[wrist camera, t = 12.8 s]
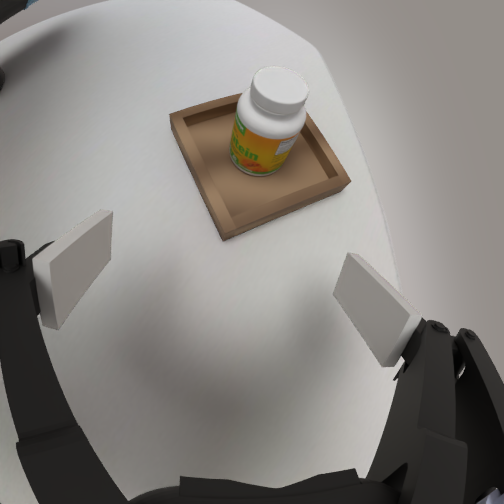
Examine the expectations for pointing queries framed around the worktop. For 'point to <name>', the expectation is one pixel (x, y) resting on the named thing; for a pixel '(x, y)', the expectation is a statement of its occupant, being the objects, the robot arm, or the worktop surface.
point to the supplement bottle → (268, 120)
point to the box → (245, 185)
